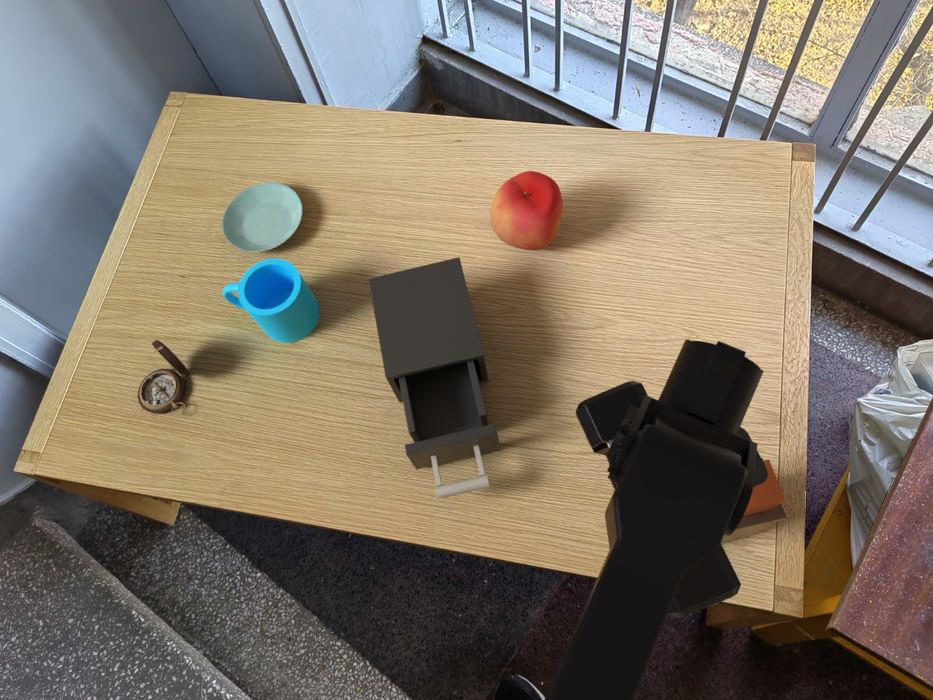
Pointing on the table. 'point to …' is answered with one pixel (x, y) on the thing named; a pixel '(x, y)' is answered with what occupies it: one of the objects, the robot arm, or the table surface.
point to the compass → (164, 384)
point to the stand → (755, 523)
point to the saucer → (262, 217)
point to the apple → (527, 211)
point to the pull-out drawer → (448, 423)
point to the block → (766, 494)
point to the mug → (276, 300)
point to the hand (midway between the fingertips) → (645, 498)
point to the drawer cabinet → (425, 321)
